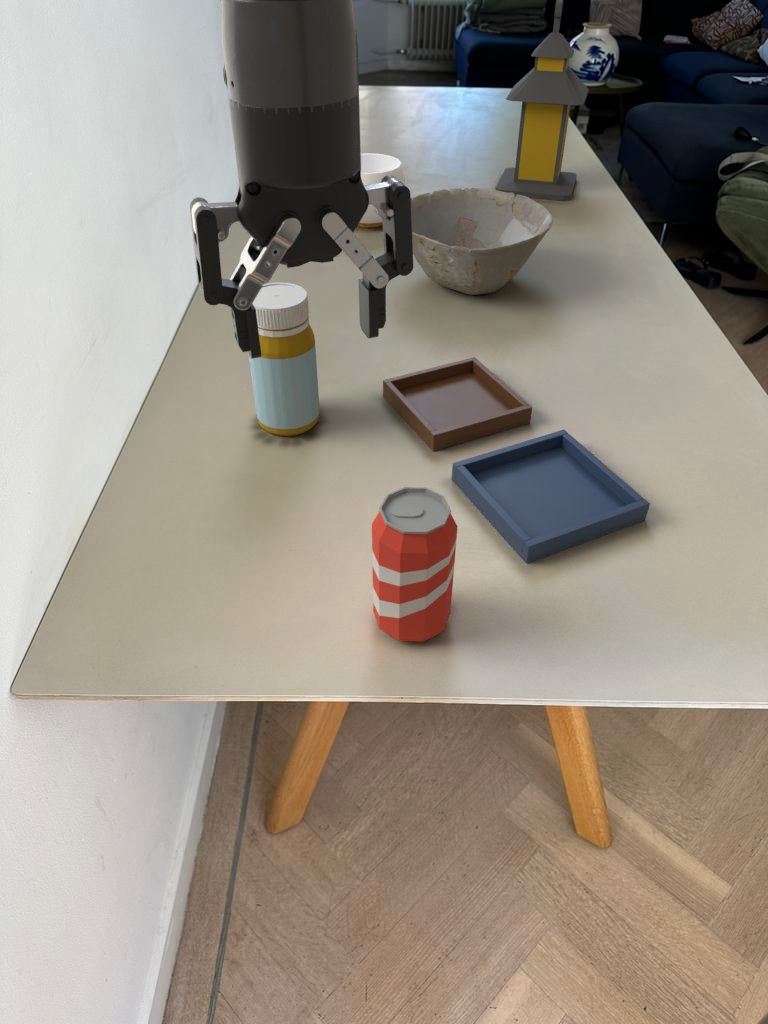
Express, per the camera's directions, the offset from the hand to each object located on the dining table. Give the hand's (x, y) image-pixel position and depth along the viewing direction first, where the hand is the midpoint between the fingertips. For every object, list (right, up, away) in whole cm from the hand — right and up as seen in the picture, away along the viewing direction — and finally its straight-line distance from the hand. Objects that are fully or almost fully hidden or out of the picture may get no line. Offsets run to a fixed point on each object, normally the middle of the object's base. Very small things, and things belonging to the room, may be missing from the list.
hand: (312, 343), depth 54 cm
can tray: (+21, -11, +21) cm, 32 cm away
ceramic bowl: (+18, +22, +59) cm, 66 cm away
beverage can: (+7, -21, +9) cm, 24 cm away
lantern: (+34, +51, +92) cm, 111 cm away
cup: (+2, +38, +78) cm, 87 cm away
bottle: (-6, -2, +32) cm, 32 cm away
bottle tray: (+13, 0, +33) cm, 36 cm away
